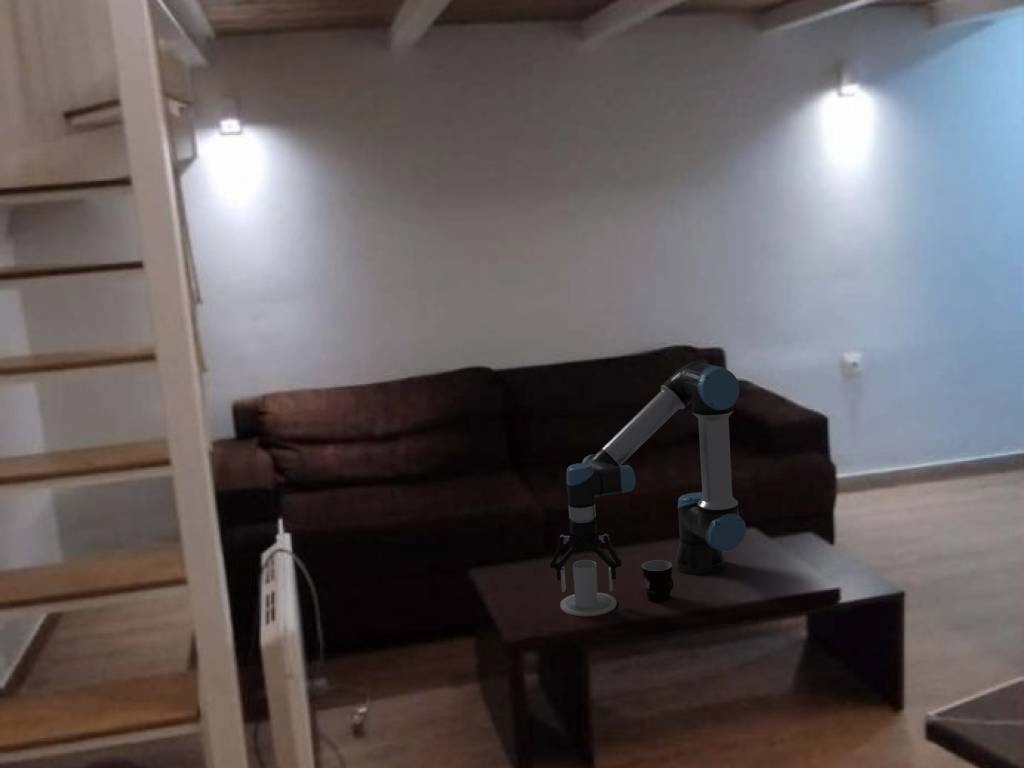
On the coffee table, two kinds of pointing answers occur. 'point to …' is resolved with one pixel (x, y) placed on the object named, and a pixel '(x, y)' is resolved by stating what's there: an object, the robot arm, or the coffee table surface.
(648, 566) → the coffee mug
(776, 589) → the coffee table surface
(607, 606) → the plate
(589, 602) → the mug
